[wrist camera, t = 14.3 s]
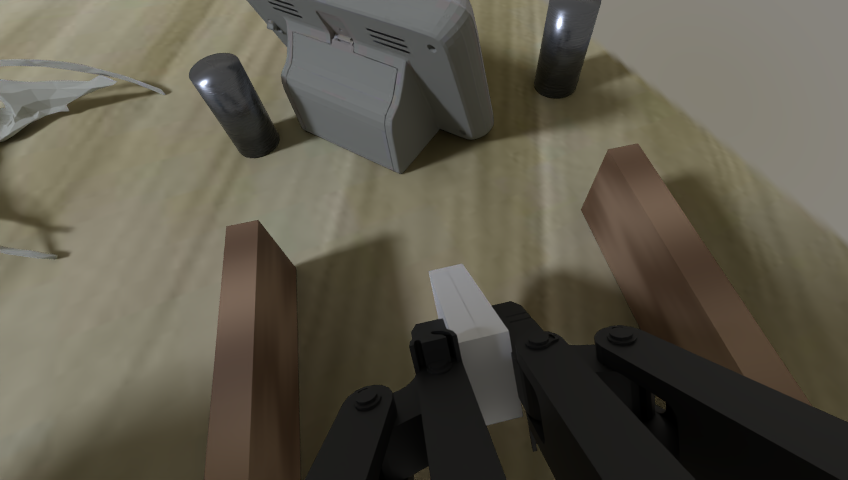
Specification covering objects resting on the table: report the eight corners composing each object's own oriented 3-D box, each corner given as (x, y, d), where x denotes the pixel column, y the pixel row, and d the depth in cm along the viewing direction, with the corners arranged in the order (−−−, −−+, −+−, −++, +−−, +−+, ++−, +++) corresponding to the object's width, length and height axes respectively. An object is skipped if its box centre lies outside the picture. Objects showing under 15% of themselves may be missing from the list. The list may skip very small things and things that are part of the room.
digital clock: (507, 135, 27) (530, -39, 18) (413, 217, 24) (384, 60, 15) (355, 47, 34) (316, -112, 25) (267, 103, 31) (186, -54, 22)
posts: (582, 93, 28) (609, 8, 23) (237, 161, 28) (186, 89, 23) (567, 68, 30) (588, -17, 25) (239, 131, 29) (192, 58, 24)
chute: (752, 475, 16) (857, 474, 12) (265, 587, 15) (190, 628, 11) (605, 204, 23) (637, 143, 19) (270, 273, 23) (226, 226, 18)
